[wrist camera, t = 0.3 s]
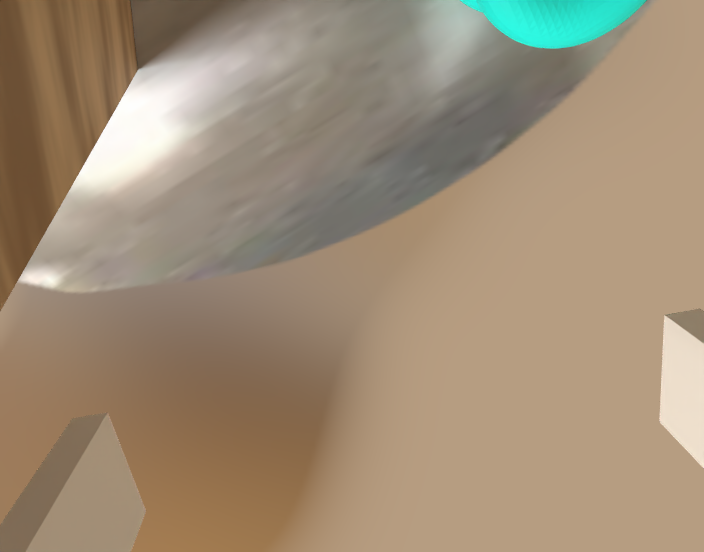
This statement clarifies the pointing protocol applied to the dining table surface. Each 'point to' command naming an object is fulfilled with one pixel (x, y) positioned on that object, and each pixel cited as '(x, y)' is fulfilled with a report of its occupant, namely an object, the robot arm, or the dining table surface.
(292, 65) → the dining table surface
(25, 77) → the tall wooden crate
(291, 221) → the dining table surface
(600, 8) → the donuts
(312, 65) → the dining table surface
